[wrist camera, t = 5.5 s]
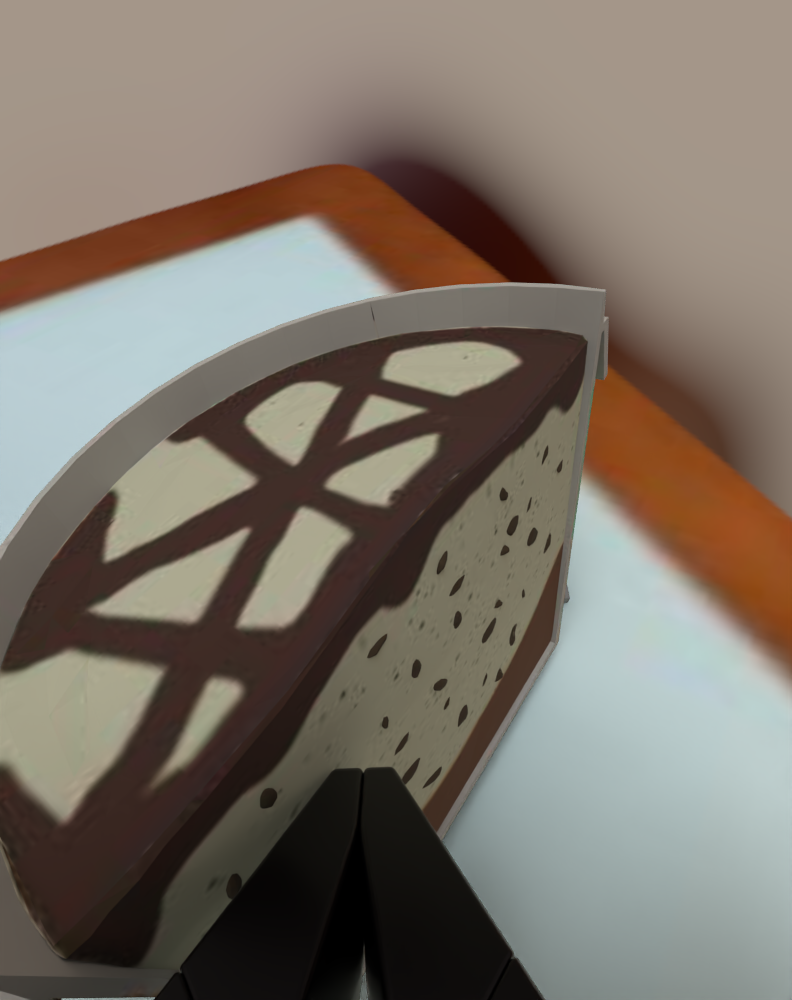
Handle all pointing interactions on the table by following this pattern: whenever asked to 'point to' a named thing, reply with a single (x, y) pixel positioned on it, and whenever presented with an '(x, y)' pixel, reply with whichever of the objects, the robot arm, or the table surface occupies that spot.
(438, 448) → the food container
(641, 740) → the table surface
